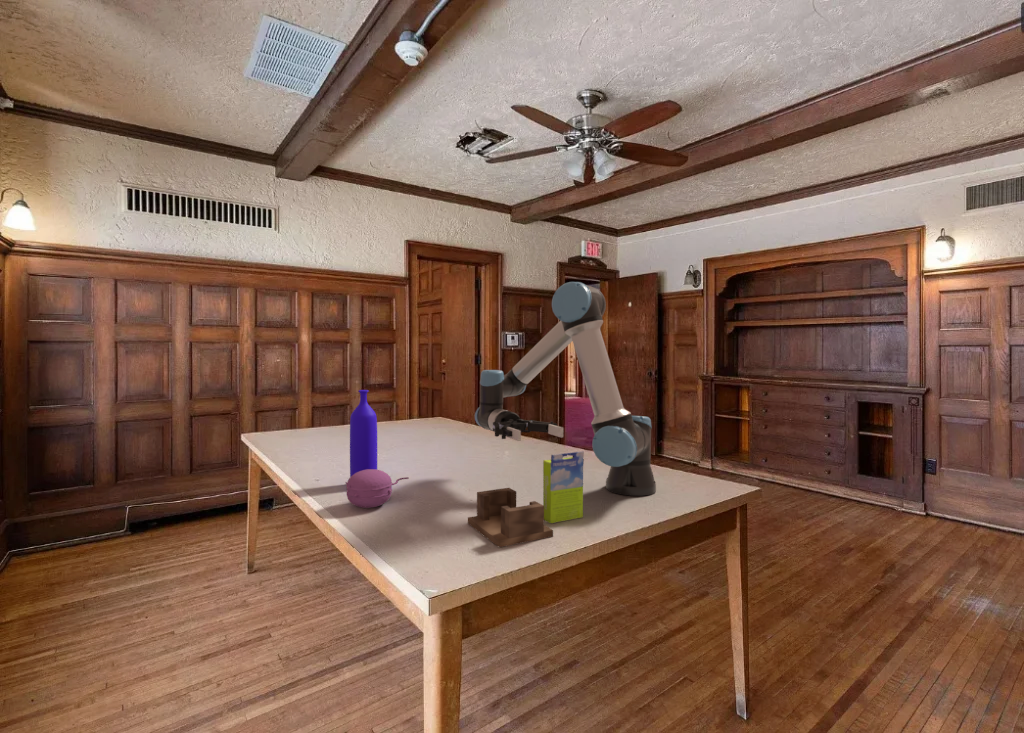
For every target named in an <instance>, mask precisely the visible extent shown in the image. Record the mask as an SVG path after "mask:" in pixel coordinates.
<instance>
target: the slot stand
mask: <svg viewBox="0 0 1024 733" xmlns="http://www.w3.org/2000/svg"><path fill="white" fill-rule="evenodd" d="M467 524H468V525H469V526H471V528H473V529H474V530H476V531H477V532H478V533H479V532H480V534H481V535H482V536H483V535H484V536H483V537H485V538H486V539H487V538H488V539H487V540H489V541H490V542H491V543H492V544H494V545H495V546H497V548H502V547H508V546H512V545H517V544H523V543H528V542H532V541H537V540H542V539H546V538H548V539H549V538H551V537H554V530H553V529H552V528H550V527H549V526H548V525H545V520H544V506H543V503H542V504H541V503H540V502H538V501H535V500H533V501H529V504H528V505H522V506H517V490H514V489H512V488H510V487H505V488H497V489H490V490H482V491H477V492H476V516H475V515H474V516H469V517H467ZM527 541H528V542H527ZM522 542H523V543H522Z"/></svg>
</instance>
